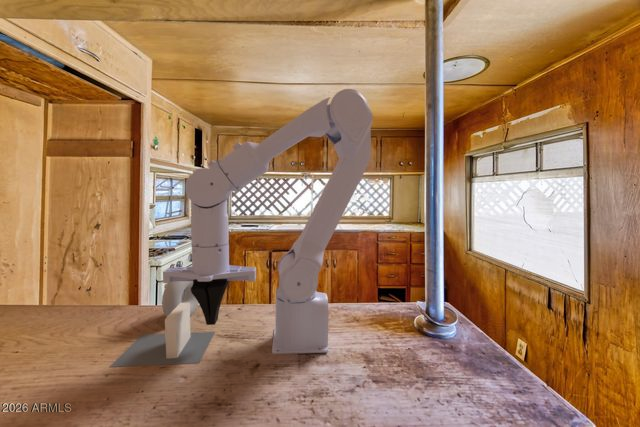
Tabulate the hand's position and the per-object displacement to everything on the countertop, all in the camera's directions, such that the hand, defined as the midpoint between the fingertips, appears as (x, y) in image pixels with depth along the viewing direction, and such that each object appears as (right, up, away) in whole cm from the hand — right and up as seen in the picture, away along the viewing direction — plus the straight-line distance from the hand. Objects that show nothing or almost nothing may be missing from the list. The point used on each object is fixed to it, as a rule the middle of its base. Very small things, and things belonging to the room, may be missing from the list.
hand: (212, 321), depth 47 cm
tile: (-6, -4, 0) cm, 7 cm away
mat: (-7, -5, 0) cm, 9 cm away
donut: (-10, -4, +10) cm, 15 cm away
